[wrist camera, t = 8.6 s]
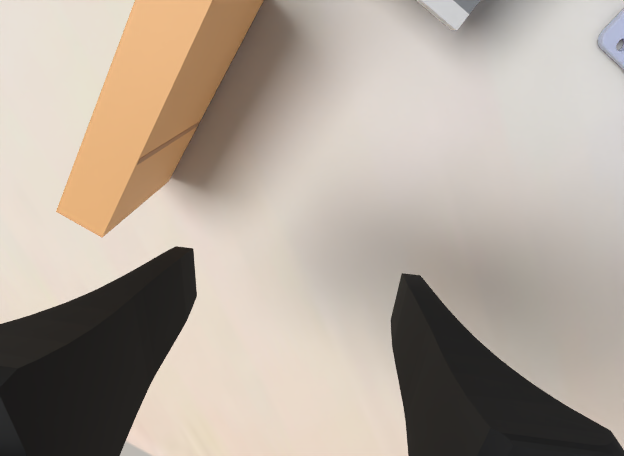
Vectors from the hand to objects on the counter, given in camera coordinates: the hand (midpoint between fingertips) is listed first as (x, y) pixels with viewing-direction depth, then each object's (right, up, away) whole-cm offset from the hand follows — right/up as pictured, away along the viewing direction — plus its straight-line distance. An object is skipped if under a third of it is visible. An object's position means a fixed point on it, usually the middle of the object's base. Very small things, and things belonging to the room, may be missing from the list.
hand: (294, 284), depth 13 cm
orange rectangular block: (-5, +9, +6) cm, 12 cm away
